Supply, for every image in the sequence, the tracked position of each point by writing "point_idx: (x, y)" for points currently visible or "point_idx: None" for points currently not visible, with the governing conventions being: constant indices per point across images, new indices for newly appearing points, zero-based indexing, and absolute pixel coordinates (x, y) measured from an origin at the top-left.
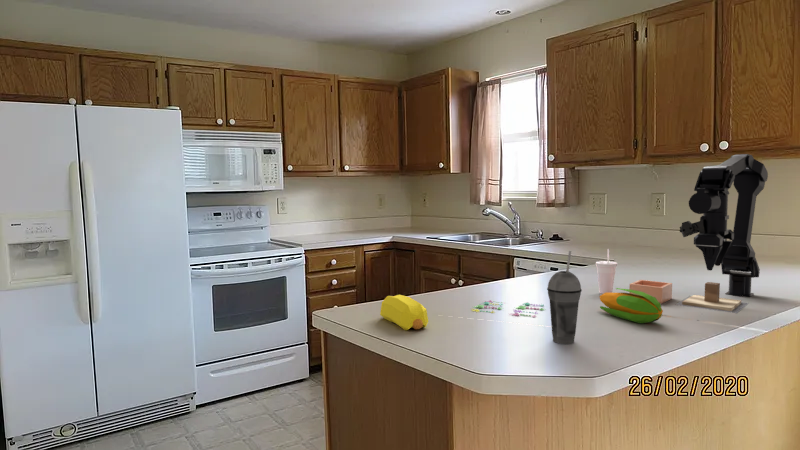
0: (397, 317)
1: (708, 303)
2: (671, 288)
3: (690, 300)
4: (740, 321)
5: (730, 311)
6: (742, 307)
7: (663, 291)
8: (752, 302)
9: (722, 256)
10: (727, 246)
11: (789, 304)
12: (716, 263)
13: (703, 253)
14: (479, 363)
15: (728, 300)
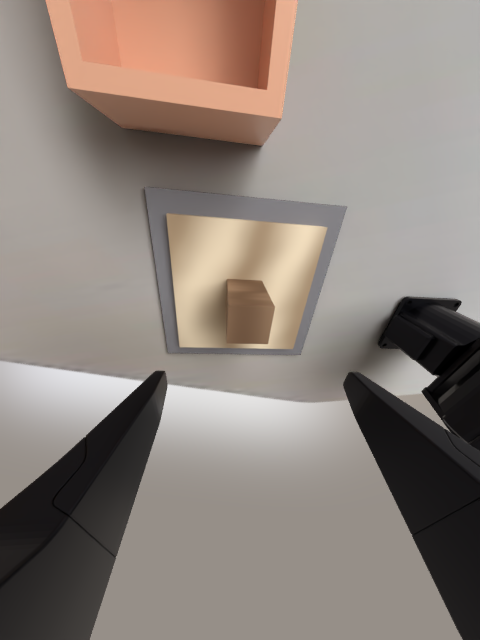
0: None
1: (197, 294)
2: (262, 127)
3: (208, 237)
4: (109, 362)
5: (174, 341)
6: (240, 352)
7: (109, 104)
8: (332, 353)
9: (374, 447)
10: (429, 561)
11: (337, 397)
12: (354, 384)
13: (15, 502)
14: None
15: (276, 327)
